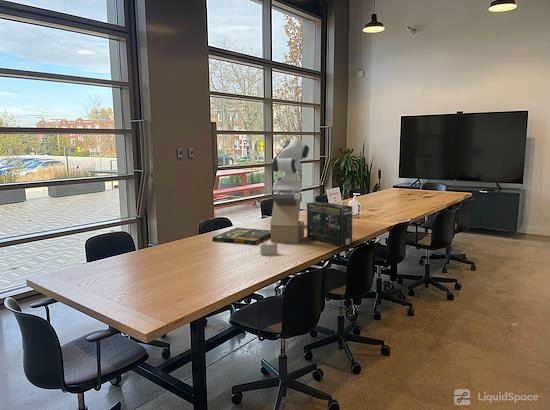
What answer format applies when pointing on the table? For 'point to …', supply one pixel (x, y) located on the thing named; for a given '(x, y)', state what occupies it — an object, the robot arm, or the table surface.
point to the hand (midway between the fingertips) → (285, 196)
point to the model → (268, 249)
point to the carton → (287, 233)
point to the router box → (329, 223)
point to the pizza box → (243, 236)
